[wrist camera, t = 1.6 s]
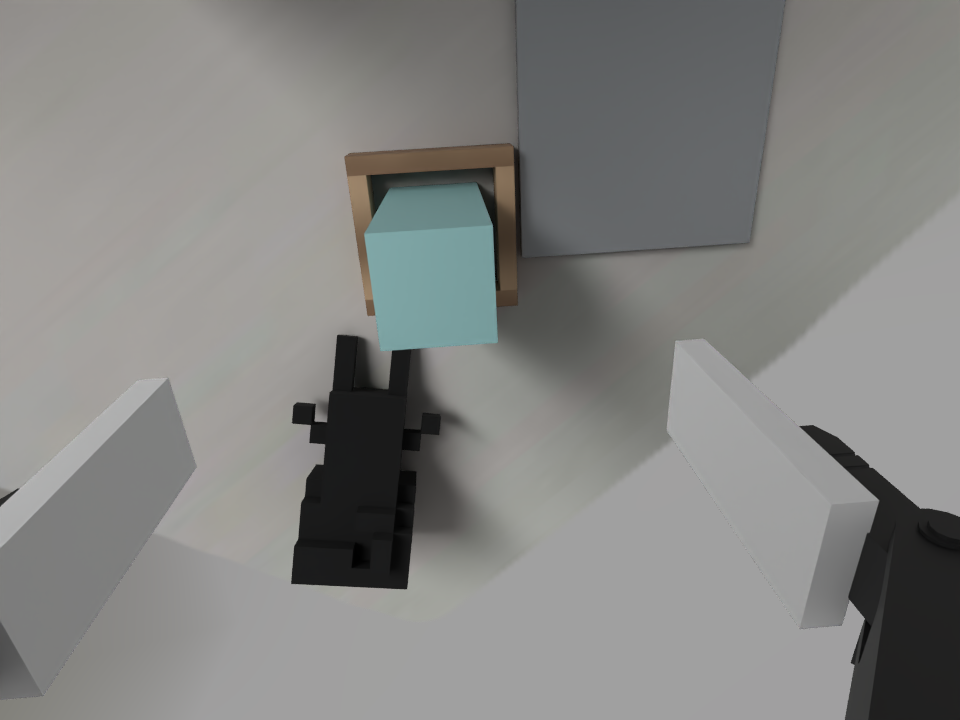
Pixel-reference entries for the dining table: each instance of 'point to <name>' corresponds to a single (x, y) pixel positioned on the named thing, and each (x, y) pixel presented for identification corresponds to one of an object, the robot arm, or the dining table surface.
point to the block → (432, 267)
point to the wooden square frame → (437, 160)
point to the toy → (359, 481)
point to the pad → (641, 121)
